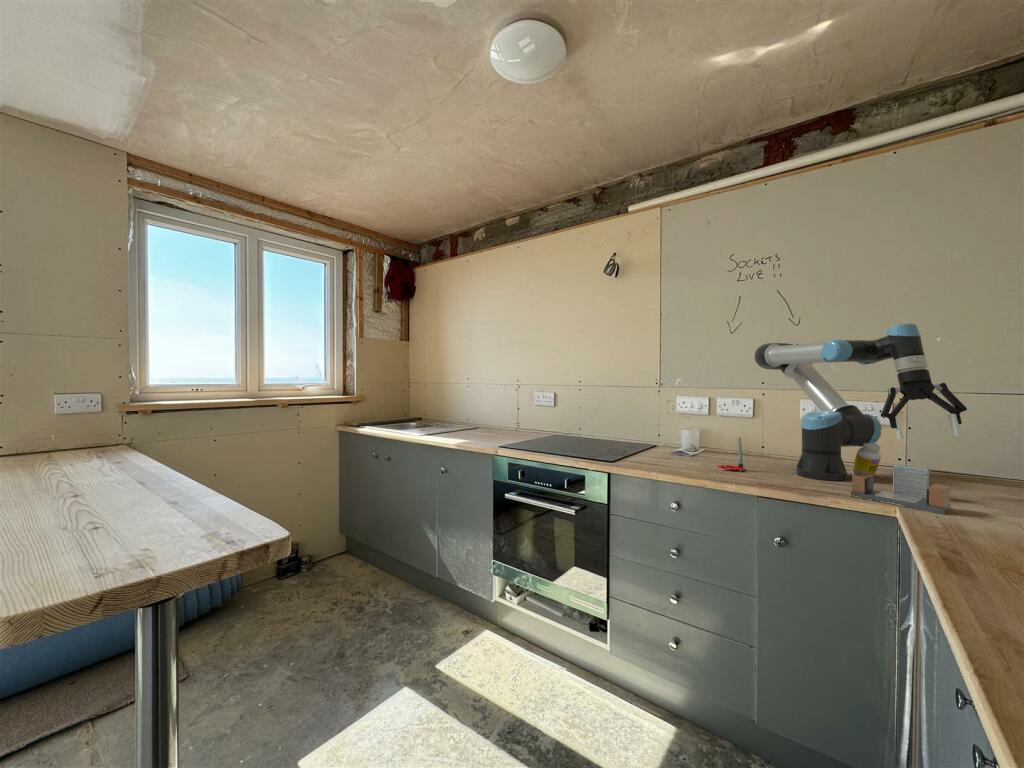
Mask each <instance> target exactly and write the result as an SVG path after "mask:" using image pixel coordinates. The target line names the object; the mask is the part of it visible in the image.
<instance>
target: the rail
mask: <svg viewBox="0 0 1024 768" xmlns="http://www.w3.org/2000/svg"><path fill="white" fill-rule="evenodd" d="M851 476H852V478H851V480H852V481H851V483H852V484H851V487H852V488H851V489H852V491H850V496H851V495H854V496H859V497H863V498H867V499H872V500H877V501H884V502H890V503H895V504H900V505H903V506H906V507H905V508H908V507H910V508H909V509H913V508H914V510H919V511H924V512H928V513H929V512H930V513H935V514H940V515H945V514H946V513H947V512H948V511H950V510H951V506H952V504H951V485H943V484H939V483H934V484H932V485H931V486H930V485H929V488H928V489H927V498H926V499H923V498H918V497H913V496H907V495H901V494H895V493H893V492H888V491H883V490H882V491H881V490H877V489H874V477H875V476H874V477H872V474H867V473H861V472H859V473H856V474H854V475H853V474H852V475H851Z"/></svg>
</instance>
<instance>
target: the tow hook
mask: <svg viewBox="0 0 1024 768" xmlns="http://www.w3.org/2000/svg"><path fill="white" fill-rule="evenodd" d="M737 439H738V442H737V446H738V447H737V451H738V452H737V453H738V456H737V459H738V465H733V464H732V465H731V464H721V465H717V466H716V468H717V467H718V468H721V469H725V470H739V471H738V472H740V471H742V472H743V471H744V463H743V462H744V460H743V448H742V439H741V437H739V436H738V438H737ZM724 466H726V467H734V468H722V467H724Z"/></svg>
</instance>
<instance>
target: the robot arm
mask: <svg viewBox="0 0 1024 768" xmlns="http://www.w3.org/2000/svg"><path fill="white" fill-rule="evenodd" d="M921 336H922V335H921V334H920V331H919V328H918V326H917V325H916V324H915V323H910V322H909V323H901V324H895V325H893V326H890V327H889V328H887V330H886V335H885V336H884V337H880V338H877V339H873V340H871V339H870V340H866V339H864V340H862V339H861V340H860V339H859V340H857V339H856V340H855V339H854V340H853V339H852V340H851V339H850V340H849V339H834V340H833V339H832V340H828V341H820V342H811V343H810V342H809V343H799V344H796V345H793V344H788V342H787V343H786V342H785V343H784V342H779V343H777V342H767V343H764V344H761V345H760V346H759V347H758V348H756V350H755V352H754V362H755V363H756V365H758V366H759V367H760V368H762V369H765V370H771V371H772V370H775V371H776V370H780V371H781V372H782V373H783V375H785V377H787V378H790V379H791V378H792V380H794V381H795V383H797V385H798V386H799V387H800V388H801V390H803V392H804V393H805V394H806V395H807V397H808V398H809V399H810V400H811V401H812V403H813V404H814V405H815V406H816V407H817V409H818V410H819V411H813V412H808V413H805V414H804V415H803V416H802V423H801V454H800V456H799V458H798V461H797V463H796V467H795V474H796V475H798V476H801V477H804V478H808V479H809V478H810V479H813V480H822V481H835V482H836V481H845V480H847V479H848V472H847V469H846V466H845V463H844V460H843V459H842V448H846V447H847V448H848V447H850V448H851V447H860V448H863V444H864V443H875V444H877V442H878V440H879V439H880V438H881V436H882V424H881V422H880V420H879V419H878V418H877V416H874V415H872V414H866V413H863V412H862V411H861V410H860V409H859V408H858V406H856V405H854V404H848V403H847V402H846V401H845V399H844V398H843V397H842V396H841V395H840V394H839V393H838V391H836V390H835V388H834V387H832V386H831V383H829V382H828V381H827V379H825V378H824V376H823V375H822V374H821V373H820V372H819V371H818V370H817V369H816V368H815V367H814V366H813V365H814V364H816V363H820V364H821V363H846V362H847V363H848V362H849V363H852V362H854V363H855V362H856V363H858V364H860V365H865V366H866V365H871V364H872V365H873V364H876V363H880V362H882V361H885V360H889V359H893V362H894V366H895V367H894V369H895V371H896V373H897V380H898V384H899V387H894V386H893V387H890V388H888V389H887V398H886V400H885V403H884V406H883V408H882V410H881V413H880V417H881V418H887V419H888V420H889V425H890V429H894V430H895V434H896V440H900V439H904V438H905V437H904V434H903V428H902V425H901V420H900V417H897V415H898V414H899V413H900V412H901V411H902V409H903V408H904V407H905V406H906V405H907V403H908V402H909V401H916V400H929V401H932V402H933V403H935V404H936V405H937V406H939V407H940V408H942V409H943V410H945V411H946V412H948V413H949V414H947V417H948V420H949V424H950V429H951V433H952V436H953V437H957V436H962V433H961V428H960V425H962V423H963V422H962V417H961V413H963V412H967V410H968V407H966V405H964V403H963V402H962V401H960V399H959V398H958V397H956V395H955V394H954V393H953V392H952V391H951V390H950V389H949V387H948V385H947V384H946V382H941V383H939V384H933V383H932V377H931V373H930V370H929V369H927V368H928V362H927V357H926V355H925V352H924V348H923V343H922V338H921ZM934 390H936V391H938V392H939V393H940V394H941V395H942V396H943V397H944V398H945V399H946V400H947V401H948V402H949V403H948V402H947V401H946V400H944V399H943V398H941V397H940V396H939V395H938V394H936V393H935V392H934ZM899 393H900V394H901V395H903V396H901V398H900V399H899V402H897V404H896V405H895V406H894V408H893V409H892V407H893V404H894V401H895V398H896V396H897V395H898V394H899ZM891 409H892V410H891ZM890 411H891V412H890Z"/></svg>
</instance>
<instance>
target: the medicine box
mask: <svg viewBox="0 0 1024 768" xmlns="http://www.w3.org/2000/svg"><path fill="white" fill-rule="evenodd" d="M892 471H893V474H892V478H893V479H892V480H893V481H892V485H893V486H892V493H895V494H901V495H907V496H913V497H918V498H924V499H926V498H927V489H928V488H929V487H930V471H929V469H928V468H925V467H917V466H907V465H906V466H905V465H896V464H895V465H893V469H892Z"/></svg>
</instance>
